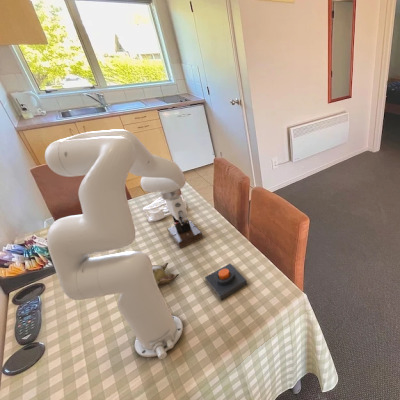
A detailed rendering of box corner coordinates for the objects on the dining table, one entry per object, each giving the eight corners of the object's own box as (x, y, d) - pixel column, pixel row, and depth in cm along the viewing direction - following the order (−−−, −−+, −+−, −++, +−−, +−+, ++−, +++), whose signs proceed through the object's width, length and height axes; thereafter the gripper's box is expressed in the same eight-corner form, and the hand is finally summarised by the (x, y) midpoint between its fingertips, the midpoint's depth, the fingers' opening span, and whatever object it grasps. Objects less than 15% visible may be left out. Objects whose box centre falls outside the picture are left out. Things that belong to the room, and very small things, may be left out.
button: (231, 275, 95) (230, 272, 94) (222, 281, 93) (221, 277, 92) (226, 270, 97) (226, 267, 96) (217, 275, 95) (216, 272, 94)
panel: (203, 237, 120) (201, 232, 118) (180, 248, 114) (178, 242, 112) (191, 224, 128) (189, 219, 127) (169, 233, 122) (167, 228, 121)
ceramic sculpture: (117, 271, 90) (163, 250, 100) (125, 289, 94) (168, 267, 105) (128, 287, 84) (176, 263, 95) (137, 305, 88) (181, 280, 99)
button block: (247, 284, 96) (245, 276, 94) (221, 300, 90) (218, 292, 88) (231, 267, 103) (229, 259, 101) (206, 281, 97) (203, 273, 95)
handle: (189, 226, 122) (186, 217, 119) (191, 228, 120) (188, 219, 118) (177, 232, 118) (173, 222, 116) (178, 233, 117) (175, 224, 114)
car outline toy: (152, 225, 128) (146, 212, 124) (144, 216, 135) (139, 204, 131) (192, 208, 141) (188, 196, 137) (183, 201, 147) (179, 190, 143)
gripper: (188, 196, 106) (198, 231, 115) (173, 183, 117) (184, 215, 126) (168, 203, 102) (181, 238, 110) (154, 189, 113) (167, 222, 121)
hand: (182, 226), depth 118 cm, fingers open, 9 cm apart
